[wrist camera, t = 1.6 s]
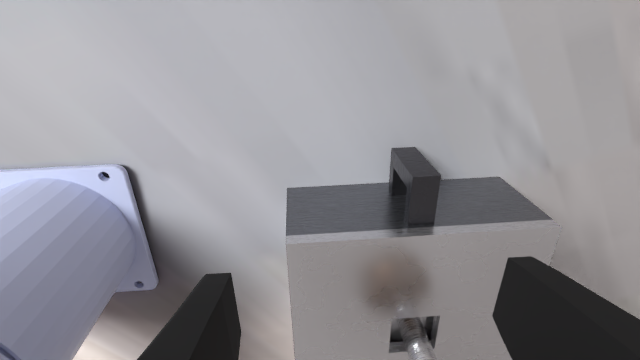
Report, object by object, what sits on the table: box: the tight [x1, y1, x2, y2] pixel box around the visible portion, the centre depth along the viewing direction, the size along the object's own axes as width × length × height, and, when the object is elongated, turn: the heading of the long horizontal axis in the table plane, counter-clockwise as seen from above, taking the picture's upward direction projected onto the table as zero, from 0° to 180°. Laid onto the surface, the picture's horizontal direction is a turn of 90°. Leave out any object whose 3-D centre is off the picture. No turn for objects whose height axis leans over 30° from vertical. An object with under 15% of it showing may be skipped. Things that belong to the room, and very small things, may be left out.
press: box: [286, 147, 562, 360], centre depth 19 cm, size 12×14×5 cm
